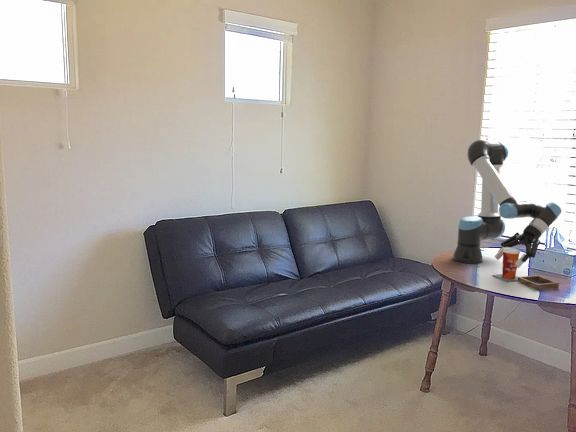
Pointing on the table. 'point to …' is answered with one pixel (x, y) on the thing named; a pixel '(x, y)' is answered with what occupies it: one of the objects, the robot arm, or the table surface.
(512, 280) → the mat
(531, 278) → the brown square open frame
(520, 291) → the table surface
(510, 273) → the paper cup
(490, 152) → the robot arm
